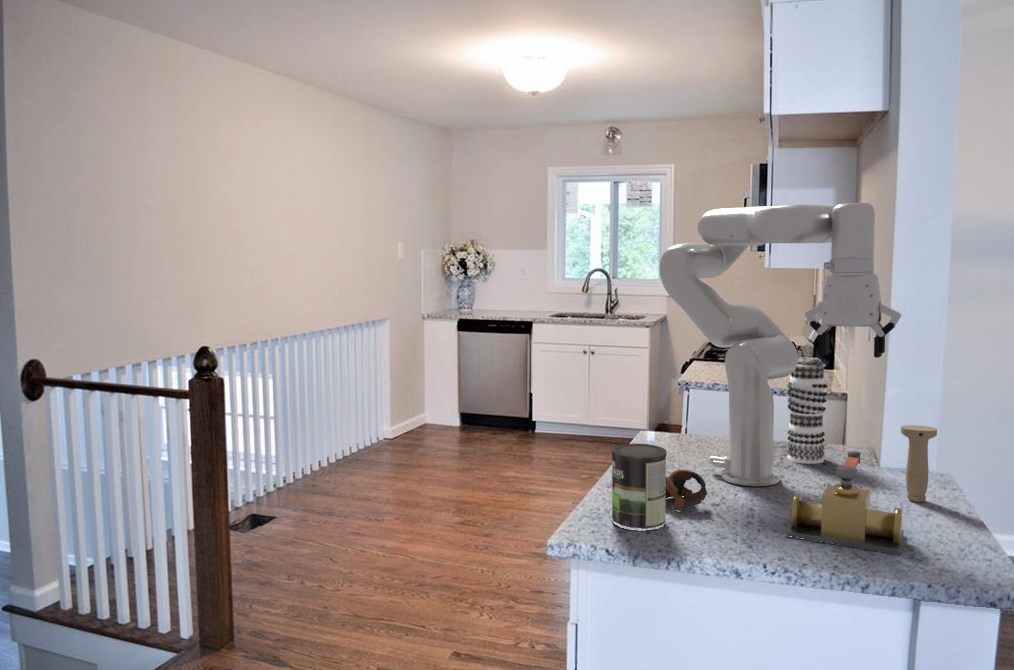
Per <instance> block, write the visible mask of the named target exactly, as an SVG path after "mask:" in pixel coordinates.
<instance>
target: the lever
mask: <svg viewBox="0 0 1014 670" xmlns="http://www.w3.org/2000/svg"><path fill="white" fill-rule="evenodd" d="M861 455H862V454H861V452H860V451H856V450H854V451H852V450H849V451H847V458H846V459H845V461H844V463H843V465H841V466H840V465H839V466H837V467H836V476H837V477H838V478H840V479H841V478H844V479H852V480H854V479H857V478H858V477H857V475H858V473H857V472H858V470H857V466H858V465H859V464H861Z"/></svg>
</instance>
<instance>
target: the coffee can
mask: <svg viewBox="0 0 1014 670" xmlns="http://www.w3.org/2000/svg"><path fill="white" fill-rule="evenodd" d="M610 451H611V455H612V456H611V475H612V478H611V479H612V480H611V487H612V488H611V489H612V490H611V491H612V493H611V496H612V497H611V498H612V499H611V500H612V501H611V505H612V506H611V509H612V510H611V511H612V513H611V520H612V519H613V521H614V522H616V523H618V524H620V525H622V526H626V527H630V528H641V529H648V528H656V527H659V526H662V525H663V524H664V523H665V521H666V502H667V501H666V477H667V476H666V474H667V465H666V464H667V453H668V452H667V450H666V448H664V447H662V446H658V445H656V444H655V445H654V444H650V443H649V444H647V443H624V444H619V445H616V446H613V447H612V448H611V450H610Z"/></svg>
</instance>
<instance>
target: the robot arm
mask: <svg viewBox="0 0 1014 670" xmlns="http://www.w3.org/2000/svg"><path fill="white" fill-rule="evenodd" d="M875 210H876V209H875V208H874V206H873V204H871V203H870V202H846V203H839V204H837V205H822V204H821V205H819V204H787V205H785V204H784V205H772V206H771V205H768V206H762V205H756V206H742V207H741V206H738V207H724V208H723V207H722V208H715V209H712V210H708V211H706V212H704V214H702V216H701V217H700V218H699V220H698V223H697V234H698V236H699V238H700V239H701V240H702V241H704V242H700V243H699V242H694V243H693V242H688V243H687V242H685V243H678V244H675V245H673V246H670V247H668V248H667V249H665V251H664V252H663V253H662V254H661V257H660V261H659V277H660V281H661V283H662V285H663V288H664V290H665V291H666V293H667V294H668V296H669V297H670V298H671V299H672V300H673V301H674V302H675V303H676V304H677V305H678V306H679V307H680V308H681V309H682V310H683V312H685V314H686V315H687V317H689V318H690V320H691V321H692V322H693V323H694V325H695V327H697V328H698V329H699V331H700V332H702V334H703V335H704V336H705V337H706V339H707V340H708V341H709V342H710V343H711V345H713V346H715V347H718V348H728V350H727V352H726V354H725V358H724V366H725V373H726V377H727V378H726V379H727V385H728V456H724V457H720V456H713V455H711V456H710V458H709V464H710V465H712V467H715V468H716V467H717V468H722V469H723V470H722V471H721V474H720V476H721V479H722V480H724V481H725V482H728V483H731V484H734V485H740V486H745V487H746V486H747V487H769V486H774V485H777V484H778V483H779V482H780V481H781V476H780V474H779V473H778V472H777V471H775V470H774V469H773V468H774V427H775V426H774V423H775V422H774V420H775V417H774V416H775V409H774V408H775V406H774V405H775V403H774V397H773V392H772V390H771V387H770V385H769V380H777V379H781V378H785V377H788V376H791V373H793V372H794V370H795V369H796V367H797V365H798V358H799V354H798V351H797V348H796V346H795V345H794V343H793V342H792V341H791V339H790V338H789V337H788V335H786V334H785V332H783V331H782V330H781V328H780V327H779V326H778V325H777V324H776V323H775V322H774V321H773V320H772V319H771V318H770V316H768V314H767V313H765V312H764V311H763V310H762V309H760V308H758V307H756V306H754V305H749V304H743V305H733V304H729V303H728V302H726V301H725V299H723V298H722V296H720V294H719V293H718V292H717V291H716V290H715V288H713V287H712V286H710V285H709V284H707V283H705V282H704V281H702V280H701V279H711V278H712V279H713V278H716V277H717V278H718V277H719V276H721V275H723V274H725V272H727V271H728V270H729V269H730V268H731V266H732V265H733V264H734V263H735V262H736V261H737V260H738V259H739V258H740V257H741V255H743V253H744V252H745V251H746V250H747V249H748V248H749V247H751V246H752V247H753V246H754V247H757V246H759V247H761V246H763V245H765V244H829V243H831V254H830V255H831V257H830V260H829V261H826V262H825V261H824V262H823V269H824V270H828V271H829V272H830V275H829V274H828V275H826V277H825V281H824V286H823V293H822V302H821V303H822V304H819V305H818V306H815V307H814V308H812V309H809V310H808V311H806V312H804V313H805V314H804V315H805V318H806V319H807V321H808V323H809V326H810V327H811V328H812V329H813V330H814V331H815V332H816V333H817V335H818V350H819V351H821V353H820V355H821V356H826V355H829V354H830V353H831V352H830V350H831V349H830V348H831V347H830V345H831V344H830V343H831V341H830V339H831V335H830V334H829V330H830V329H831V328H832V327H850V328H854V327H856V328H858V327H859V328H862V327H863V328H868V327H869V328H871V329H872V331H873V332H874V333H875V336H874V337H873V357H874V358H881V357H882V355H883V354H884V353H885V351H886V336H887V335H888V334H889V333H891V331H892V330H894V328H896V325H897V324H898V322H899V321H900V319H901V317H902V313H901V312H899V311H897V310H895V309H893V308H890V307H889V306H887V305H885V304H883V303H882V298H881V296H882V295H881V289H880V280H879V277H878V274H877V273H876V274H874V273H875V269H874V268H875V260H874V259H875V258H874V257H875V255H874V254H875V223H876V222H875V215H876V213H875ZM820 313H821V322H822V324H821V323H820V322H819V321H818V320H817V318H816V315H818V314H820ZM882 314H883V315H887V316H888V317H889V318H890V319H889V321H888V323H886V324H885V325H884V326H883V324H882V323H881V321H882Z"/></svg>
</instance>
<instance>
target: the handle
mask: <svg viewBox="0 0 1014 670" xmlns="http://www.w3.org/2000/svg"><path fill="white" fill-rule="evenodd" d="M900 433H901V435H903V436H904V437H907V438H908V448H907V449H908V451H907V461H906V472H905V480H906V481H905V483H906V485H905V486H906V491H907V493H906V495H907V496H906V497H907V499H908V501H910V502H914V503H925V502H926V498H927V496H926V494H927V491H928V485H929V456H928V455H929V447H928V446H929V440H931V439H933V438H935V437H937V436H938V429H937V428H936V427H935V426H926V425H915V424H914V425H912V424H909V425H908V424H906V425H901V426H900Z"/></svg>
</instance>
